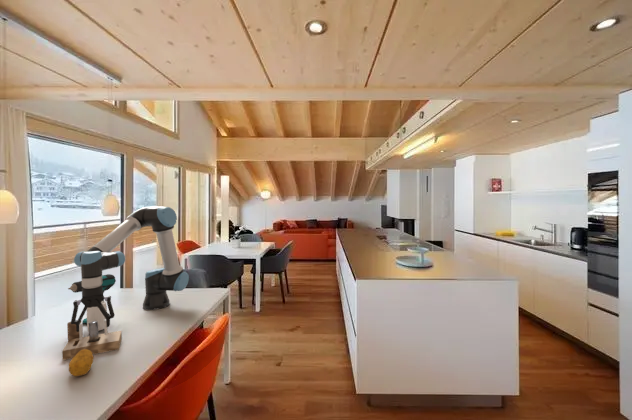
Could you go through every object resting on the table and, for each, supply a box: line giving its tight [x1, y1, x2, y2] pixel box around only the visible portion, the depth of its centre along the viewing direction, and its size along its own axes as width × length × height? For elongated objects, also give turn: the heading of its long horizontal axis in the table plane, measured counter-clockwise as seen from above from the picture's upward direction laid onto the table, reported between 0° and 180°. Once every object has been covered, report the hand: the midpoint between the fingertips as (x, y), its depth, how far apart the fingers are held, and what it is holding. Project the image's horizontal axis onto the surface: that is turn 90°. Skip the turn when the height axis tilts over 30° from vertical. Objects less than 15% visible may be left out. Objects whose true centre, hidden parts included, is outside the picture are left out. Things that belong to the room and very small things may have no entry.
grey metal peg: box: [88, 321, 99, 343], centre depth 138 cm, size 3×3×12 cm
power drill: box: [67, 273, 117, 324], centre depth 169 cm, size 26×9×25 cm, turn 168°
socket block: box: [61, 330, 123, 361], centre depth 138 cm, size 20×12×4 cm, turn 118°
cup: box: [86, 300, 108, 332], centre depth 158 cm, size 8×8×14 cm
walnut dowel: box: [67, 321, 82, 342], centre depth 144 cm, size 5×5×10 cm
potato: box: [68, 349, 95, 377], centre depth 119 cm, size 7×14×7 cm, turn 25°
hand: (93, 335), depth 138 cm, fingers open, 8 cm apart
